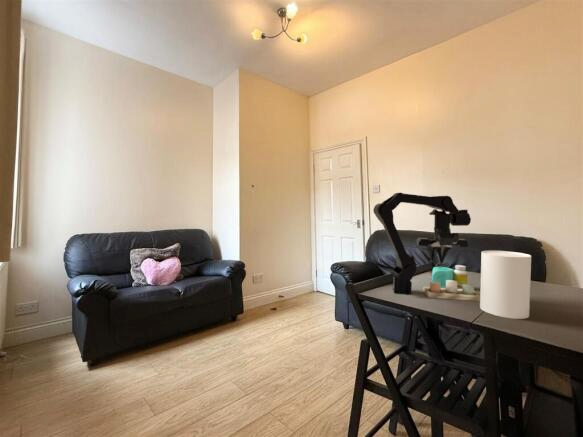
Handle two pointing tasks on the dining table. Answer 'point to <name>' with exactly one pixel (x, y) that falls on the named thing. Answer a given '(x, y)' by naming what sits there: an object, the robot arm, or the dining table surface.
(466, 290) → the button sage
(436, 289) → the button terracotta
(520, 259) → the canister
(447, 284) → the button cream
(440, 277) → the turquoise rounded piece
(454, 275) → the supplement bottle
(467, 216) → the robot arm
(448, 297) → the three-slot wooden rack
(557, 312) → the dining table surface
